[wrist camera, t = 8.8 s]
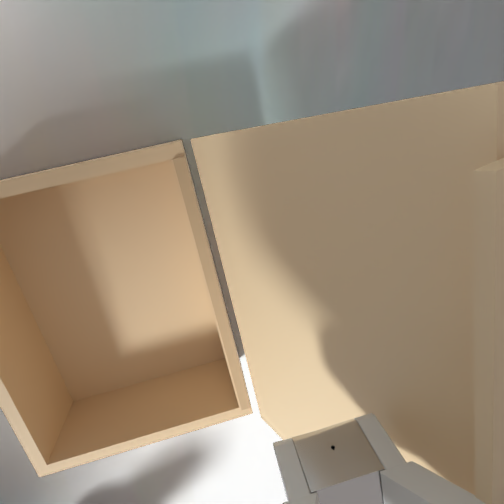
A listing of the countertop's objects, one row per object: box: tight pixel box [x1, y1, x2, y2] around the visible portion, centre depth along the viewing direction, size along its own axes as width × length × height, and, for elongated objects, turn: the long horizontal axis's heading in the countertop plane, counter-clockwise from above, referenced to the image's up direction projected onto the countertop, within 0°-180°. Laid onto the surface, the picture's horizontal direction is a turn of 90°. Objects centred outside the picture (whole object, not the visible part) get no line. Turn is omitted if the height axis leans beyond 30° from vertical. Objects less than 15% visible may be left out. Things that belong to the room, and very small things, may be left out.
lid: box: [190, 81, 504, 504], centre depth 12 cm, size 14×12×1 cm
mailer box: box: [0, 139, 253, 477], centre depth 19 cm, size 14×11×5 cm
